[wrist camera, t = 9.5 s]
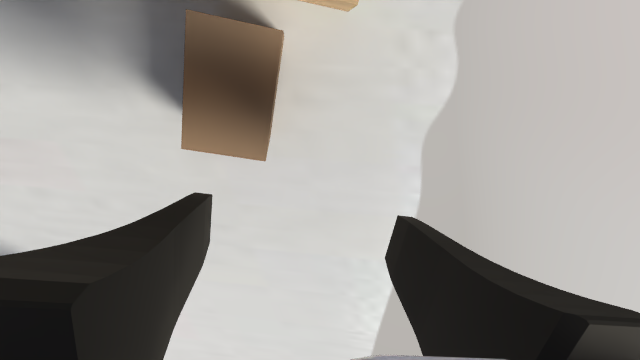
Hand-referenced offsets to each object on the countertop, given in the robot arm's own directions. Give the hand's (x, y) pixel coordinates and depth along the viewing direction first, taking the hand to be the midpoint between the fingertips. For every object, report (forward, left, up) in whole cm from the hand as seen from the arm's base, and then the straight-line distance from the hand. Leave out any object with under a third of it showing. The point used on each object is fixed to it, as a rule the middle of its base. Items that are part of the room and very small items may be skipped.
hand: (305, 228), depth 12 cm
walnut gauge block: (+4, +4, -10) cm, 11 cm away
